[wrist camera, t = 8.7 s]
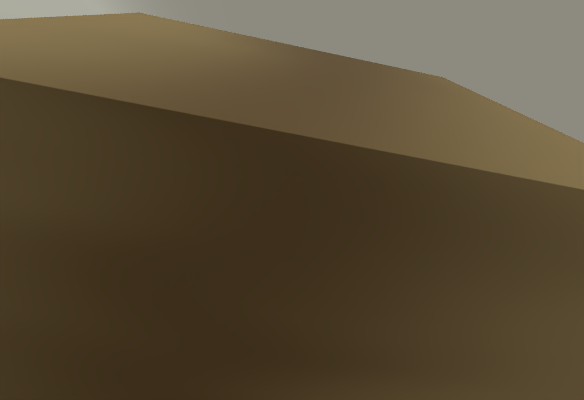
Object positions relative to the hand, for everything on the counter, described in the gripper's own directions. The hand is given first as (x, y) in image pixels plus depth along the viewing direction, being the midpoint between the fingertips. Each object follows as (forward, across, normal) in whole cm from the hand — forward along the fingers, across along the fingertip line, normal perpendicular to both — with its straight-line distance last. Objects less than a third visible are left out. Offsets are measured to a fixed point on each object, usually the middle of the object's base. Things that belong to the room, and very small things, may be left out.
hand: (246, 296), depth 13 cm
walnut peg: (-5, 0, -10) cm, 11 cm away
